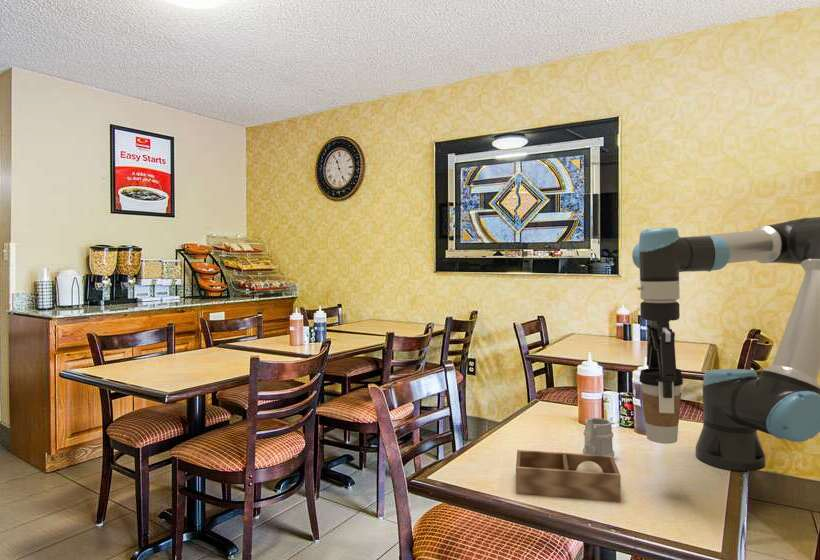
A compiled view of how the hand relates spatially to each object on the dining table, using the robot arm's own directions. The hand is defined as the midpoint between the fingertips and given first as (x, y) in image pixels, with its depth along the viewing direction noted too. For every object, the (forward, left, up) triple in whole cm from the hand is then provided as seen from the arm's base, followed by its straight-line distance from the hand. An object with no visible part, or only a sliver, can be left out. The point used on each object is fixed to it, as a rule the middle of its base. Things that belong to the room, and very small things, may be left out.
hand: (661, 406), depth 112 cm
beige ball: (+15, 0, -19) cm, 24 cm away
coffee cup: (0, 0, -7) cm, 7 cm away
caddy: (+20, 0, -20) cm, 28 cm away
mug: (+11, -19, -20) cm, 30 cm away
